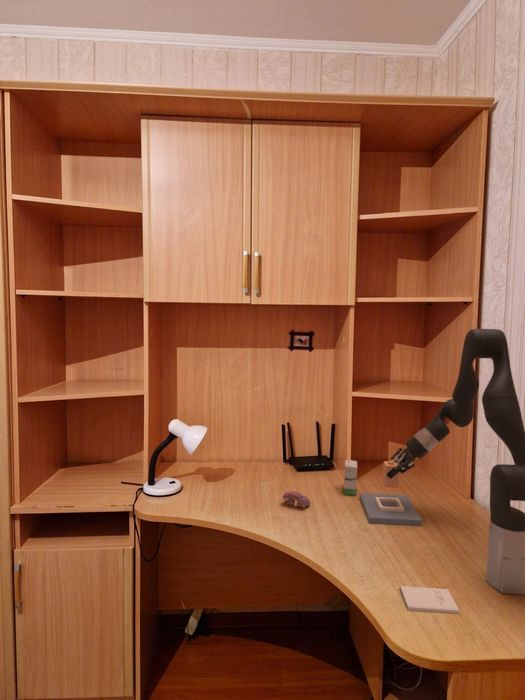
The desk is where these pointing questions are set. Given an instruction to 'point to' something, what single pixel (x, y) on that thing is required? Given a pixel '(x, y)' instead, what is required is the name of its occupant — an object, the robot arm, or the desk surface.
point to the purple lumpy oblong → (296, 498)
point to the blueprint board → (390, 509)
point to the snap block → (386, 480)
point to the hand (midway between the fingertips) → (386, 473)
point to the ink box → (350, 477)
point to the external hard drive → (428, 599)
